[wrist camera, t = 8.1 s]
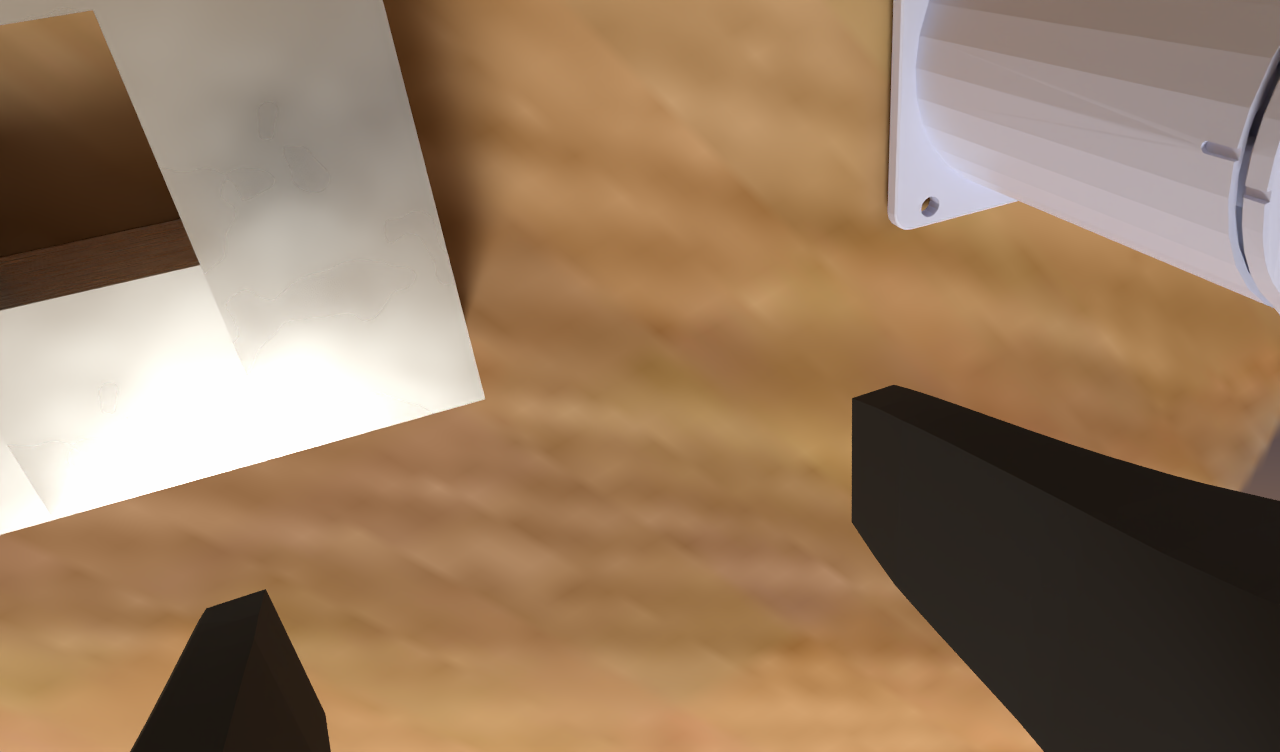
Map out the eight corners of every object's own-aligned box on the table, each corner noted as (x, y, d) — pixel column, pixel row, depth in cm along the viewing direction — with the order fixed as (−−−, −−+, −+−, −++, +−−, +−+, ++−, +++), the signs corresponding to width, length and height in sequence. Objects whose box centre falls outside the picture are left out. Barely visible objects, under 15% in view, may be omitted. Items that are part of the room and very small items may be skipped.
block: (290, -323, 14) (286, -373, 11) (462, 336, 20) (485, 399, 17) (-672, -239, 11) (-954, -278, 9) (-129, 491, 17) (-201, 591, 15)
